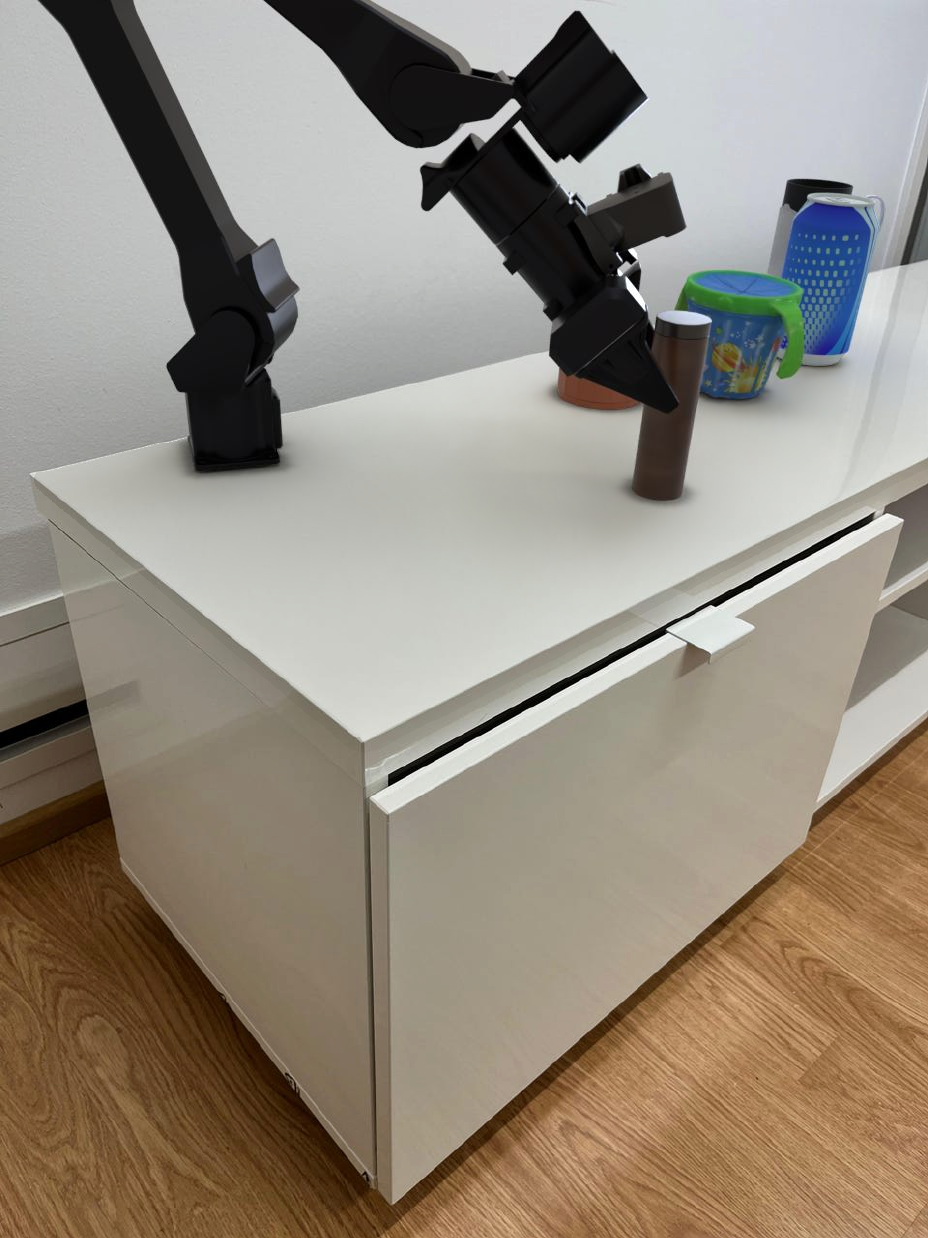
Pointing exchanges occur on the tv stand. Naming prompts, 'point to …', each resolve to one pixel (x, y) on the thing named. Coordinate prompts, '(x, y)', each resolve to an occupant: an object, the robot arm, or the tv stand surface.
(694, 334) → the brown thermos bottle
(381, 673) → the tv stand surface
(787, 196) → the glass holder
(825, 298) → the beer can
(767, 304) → the snack cup
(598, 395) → the terracotta cup
